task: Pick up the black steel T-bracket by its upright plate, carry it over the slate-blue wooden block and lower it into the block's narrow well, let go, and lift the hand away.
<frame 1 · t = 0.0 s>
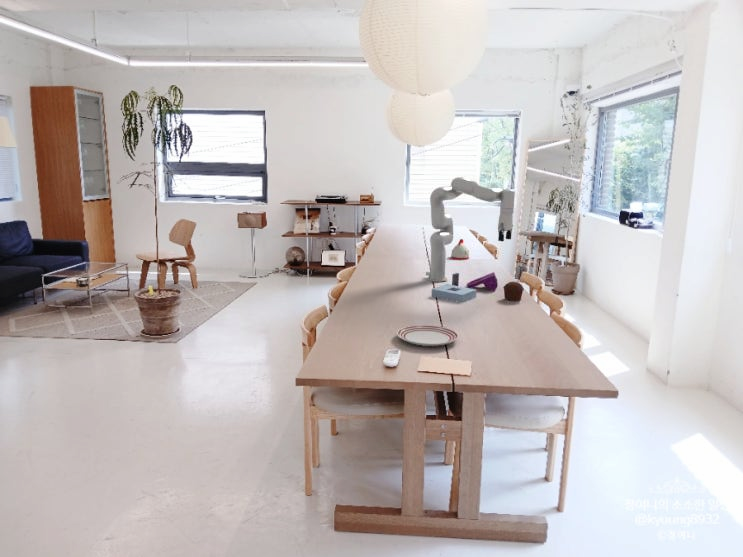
hand: (504, 240, 325), 31 cm above the table, tool pointing down, fingers open, 9 cm apart
muffin: (512, 299, 315), on the table
well block: (453, 296, 318), on the table
kitchen timer: (459, 258, 434), on the table
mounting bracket: (481, 288, 340), on the table
steel bracket: (454, 289, 335), on the table
dinner plate: (427, 340, 246), on the table
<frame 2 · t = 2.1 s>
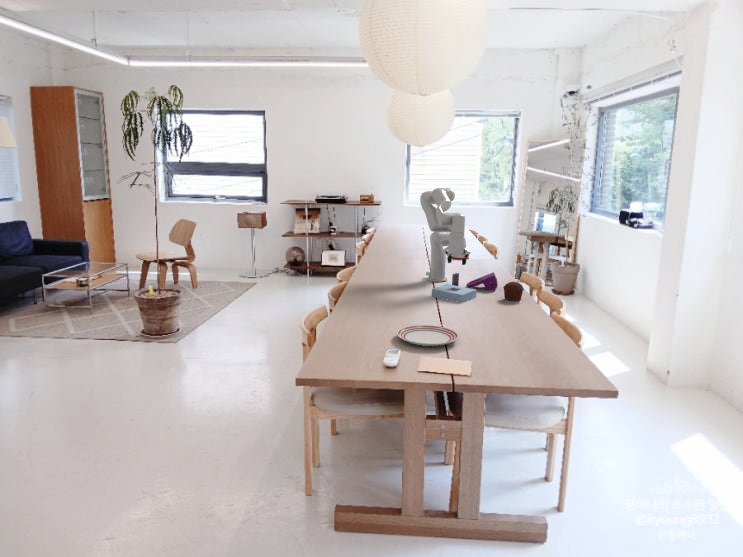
hand: (456, 263, 330), 16 cm above the table, tool pointing down, fingers open, 9 cm apart
nothing on the table moved.
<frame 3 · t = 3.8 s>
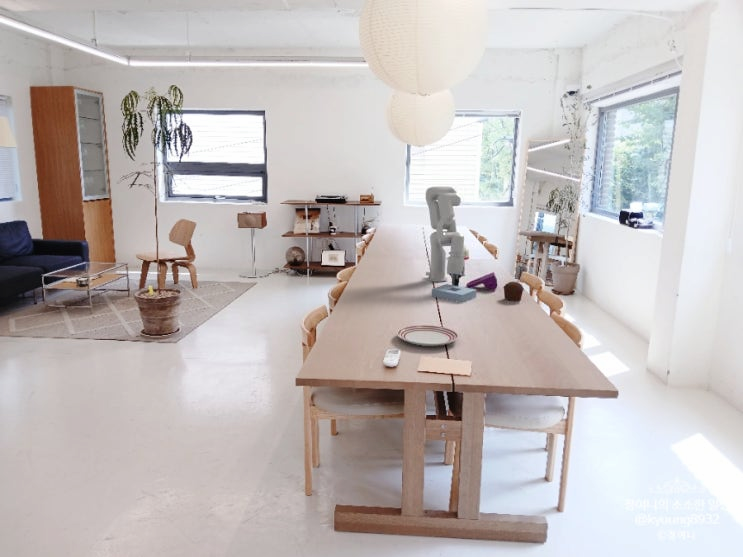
hand: (455, 284, 334), 3 cm above the table, tool pointing down, fingers closed on steel bracket
steel bracket: (455, 289, 334), on the table, touching gripper
everything else where it was.
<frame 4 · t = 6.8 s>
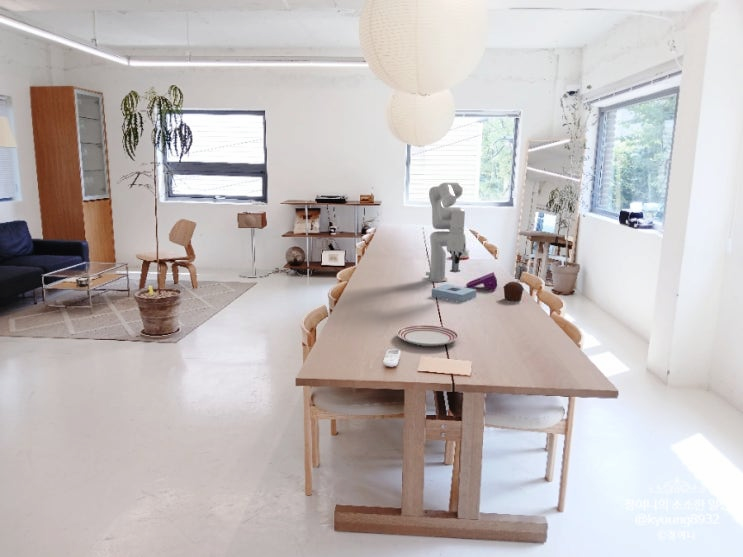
hand: (455, 262, 315), 20 cm above the table, tool pointing down, fingers closed on steel bracket
steel bracket: (454, 271, 316), point 15 cm above the table, touching gripper
everything else where it was.
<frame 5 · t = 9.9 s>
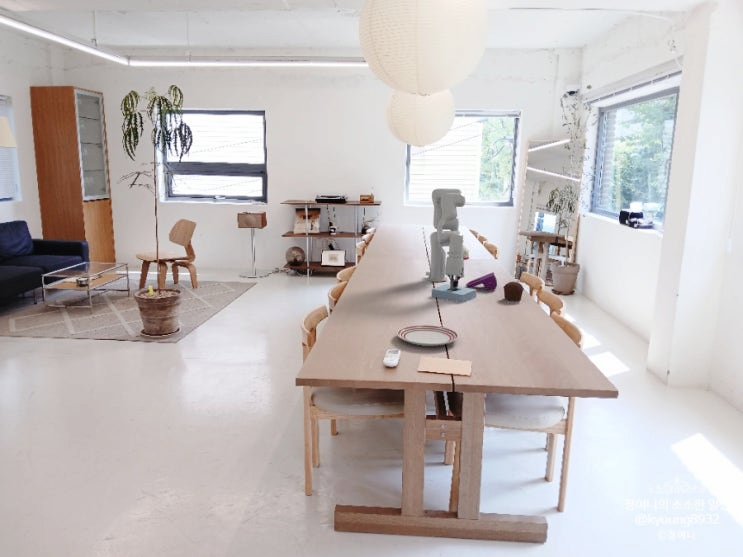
hand: (454, 286, 316), 6 cm above the table, tool pointing down, fingers closed on steel bracket
steel bracket: (453, 297, 317), resting in well block, touching gripper
everything else where it was.
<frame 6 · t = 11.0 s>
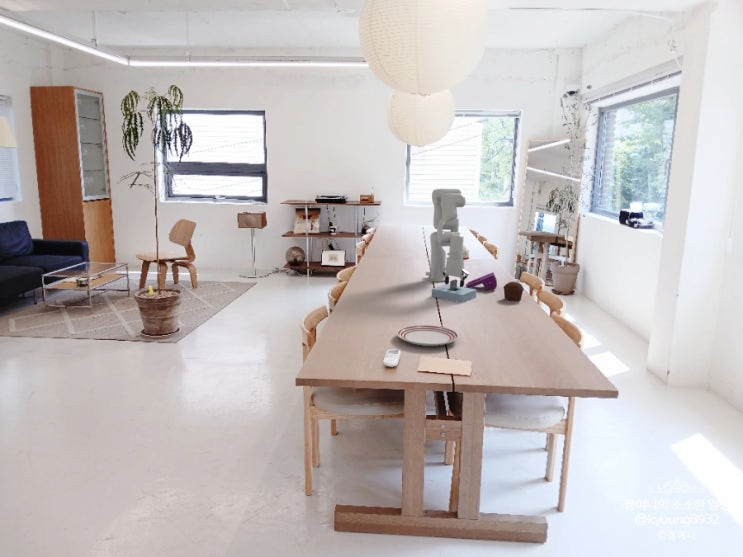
hand: (454, 285, 317), 7 cm above the table, tool pointing down, fingers open, 9 cm apart
steel bracket: (452, 297, 317), resting in well block
everything else where it was.
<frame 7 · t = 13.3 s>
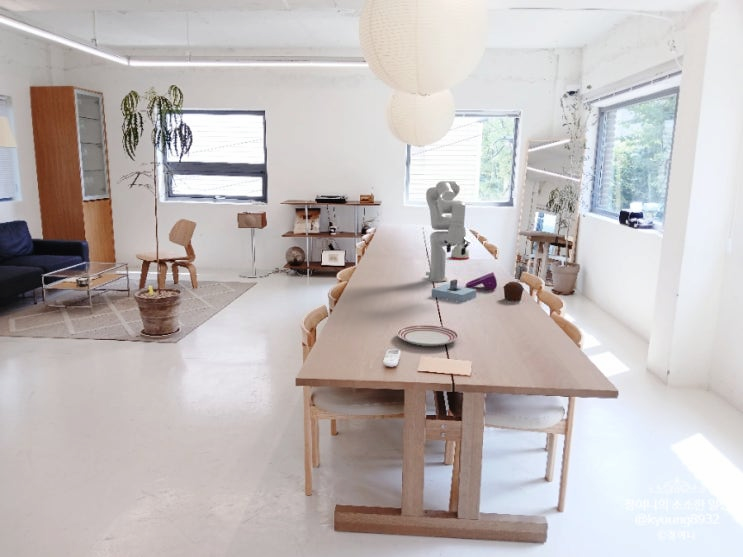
hand: (455, 253, 321), 24 cm above the table, tool pointing down, fingers open, 9 cm apart
nothing on the table moved.
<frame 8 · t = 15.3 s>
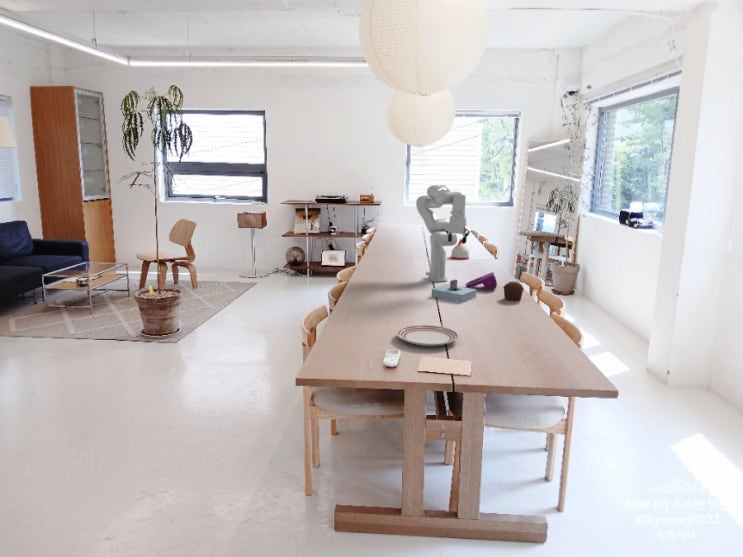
hand: (456, 242, 332), 28 cm above the table, tool pointing down, fingers open, 9 cm apart
nothing on the table moved.
at the end: steel bracket 1.0 cm off-centre on the well block, point 0.0 cm above the well block's base; steel bracket tilted 0°; the gripper is holding nothing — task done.
